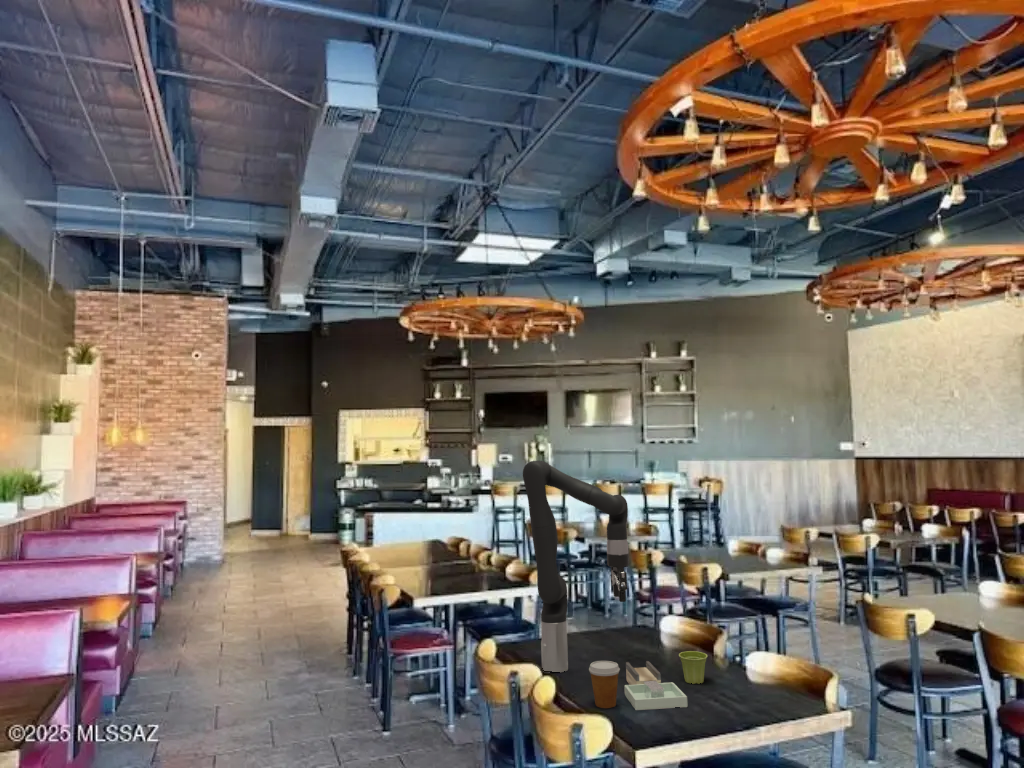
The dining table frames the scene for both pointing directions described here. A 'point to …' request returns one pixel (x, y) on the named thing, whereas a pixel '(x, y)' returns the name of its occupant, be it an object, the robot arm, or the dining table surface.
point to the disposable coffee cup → (604, 683)
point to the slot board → (642, 674)
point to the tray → (641, 702)
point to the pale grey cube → (655, 691)
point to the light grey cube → (647, 685)
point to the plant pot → (693, 666)
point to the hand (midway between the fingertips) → (619, 599)
